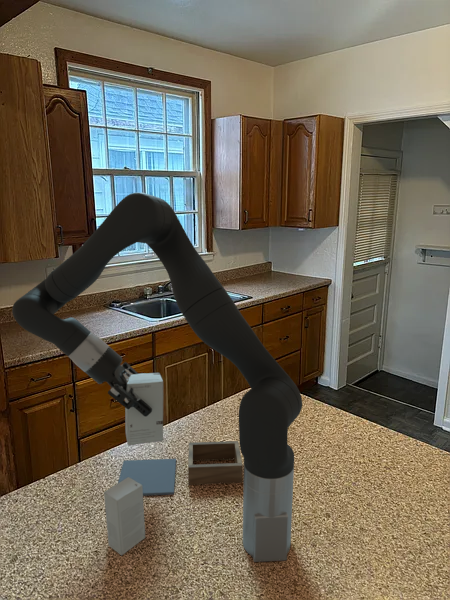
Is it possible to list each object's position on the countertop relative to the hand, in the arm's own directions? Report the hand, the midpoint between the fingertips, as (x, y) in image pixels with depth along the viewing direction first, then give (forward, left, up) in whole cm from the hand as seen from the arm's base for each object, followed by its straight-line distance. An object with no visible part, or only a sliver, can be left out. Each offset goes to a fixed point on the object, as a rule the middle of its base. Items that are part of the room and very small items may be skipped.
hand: (150, 405), depth 102 cm
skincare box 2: (0, +2, -8) cm, 8 cm away
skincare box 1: (-20, +3, -19) cm, 28 cm away
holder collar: (+2, -15, -19) cm, 24 cm away
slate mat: (0, +1, -19) cm, 19 cm away
